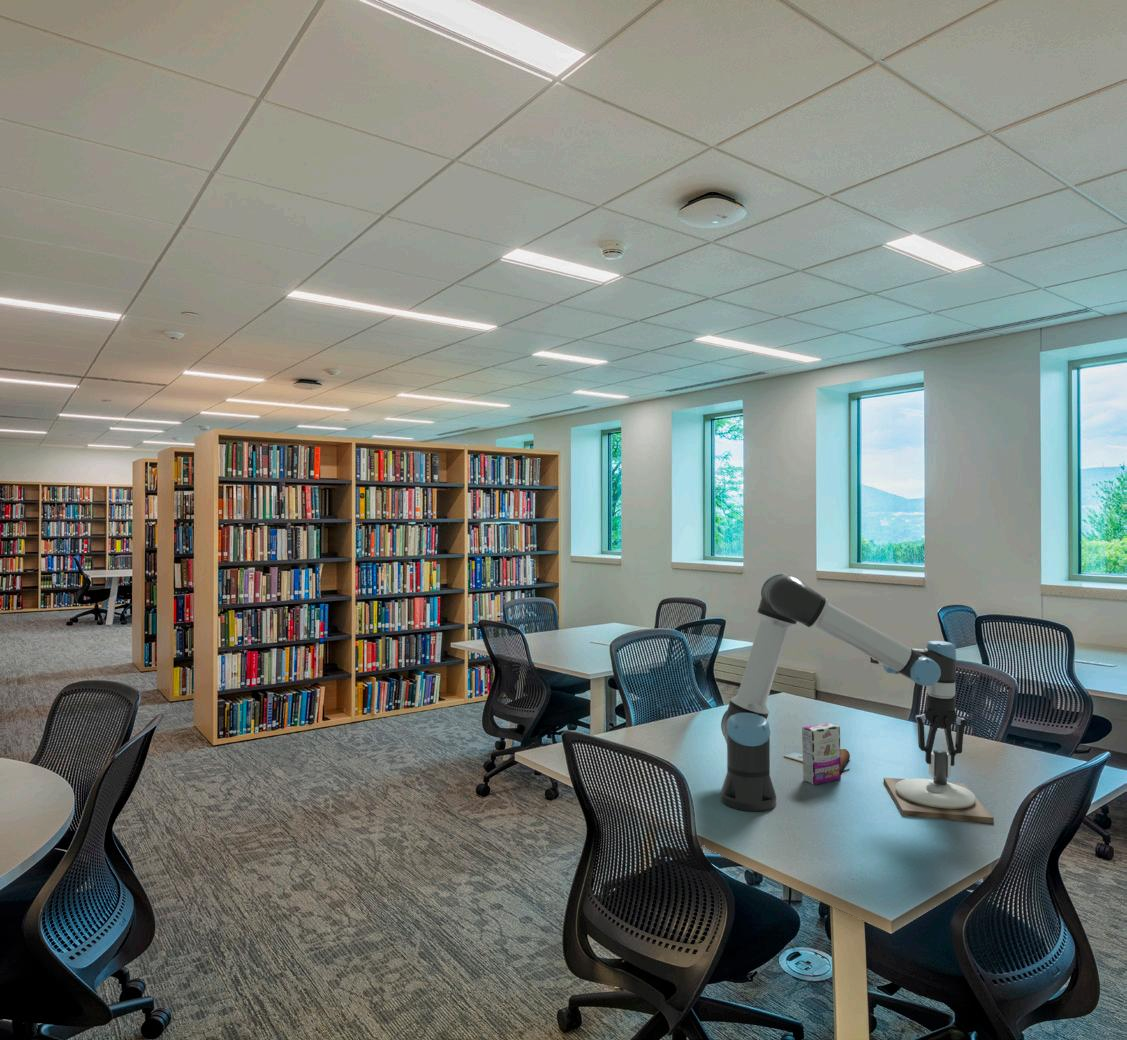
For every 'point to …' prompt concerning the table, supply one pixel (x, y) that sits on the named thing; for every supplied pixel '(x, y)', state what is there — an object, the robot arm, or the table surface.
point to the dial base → (917, 810)
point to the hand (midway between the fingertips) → (939, 775)
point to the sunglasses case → (844, 757)
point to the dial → (936, 788)
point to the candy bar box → (821, 753)
